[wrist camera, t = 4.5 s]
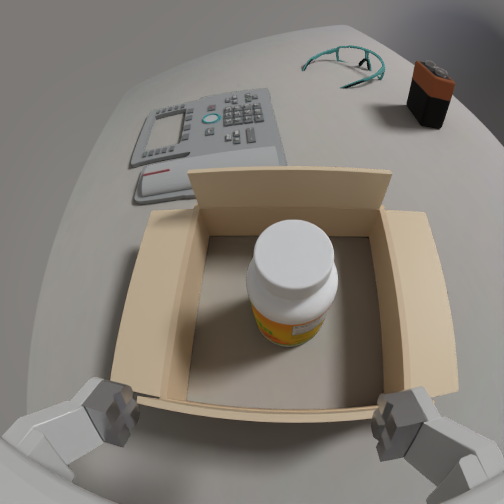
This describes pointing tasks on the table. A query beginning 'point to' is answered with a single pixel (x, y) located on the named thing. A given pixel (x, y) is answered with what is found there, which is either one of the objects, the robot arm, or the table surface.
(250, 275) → the supplement bottle
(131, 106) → the table surface
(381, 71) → the sunglasses
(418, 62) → the battery
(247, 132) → the office telephone
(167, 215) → the carton
